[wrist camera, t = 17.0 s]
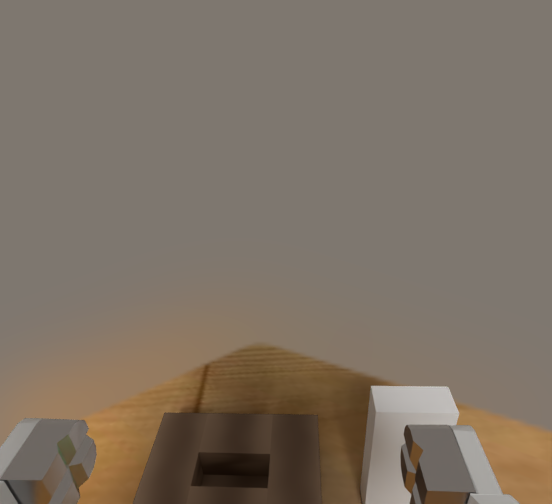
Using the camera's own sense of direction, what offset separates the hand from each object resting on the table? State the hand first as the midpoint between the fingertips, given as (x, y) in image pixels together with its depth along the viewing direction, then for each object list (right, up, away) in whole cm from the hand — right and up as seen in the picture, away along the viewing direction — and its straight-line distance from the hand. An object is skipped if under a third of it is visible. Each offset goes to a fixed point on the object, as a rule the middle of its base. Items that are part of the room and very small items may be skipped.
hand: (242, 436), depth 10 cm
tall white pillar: (+12, -19, +27) cm, 35 cm away
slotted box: (-3, -19, +28) cm, 34 cm away
